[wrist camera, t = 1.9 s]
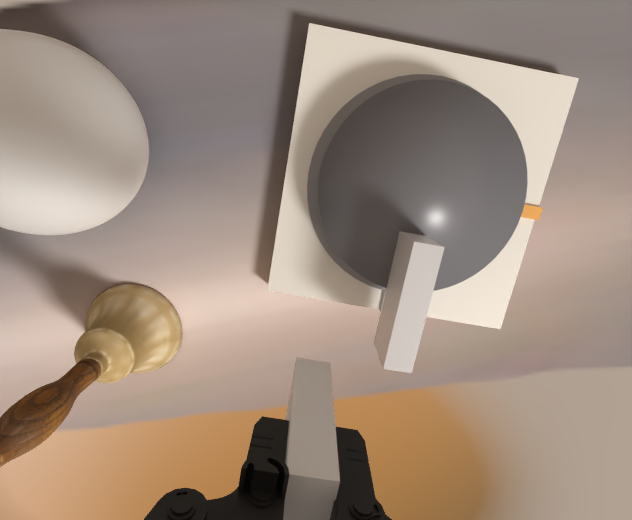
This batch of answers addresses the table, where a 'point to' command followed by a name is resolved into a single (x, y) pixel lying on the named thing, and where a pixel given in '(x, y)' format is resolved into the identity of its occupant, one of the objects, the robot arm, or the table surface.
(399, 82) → the dial plate
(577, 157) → the table surface
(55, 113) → the decorative ball
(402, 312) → the dial
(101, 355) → the hand bell
